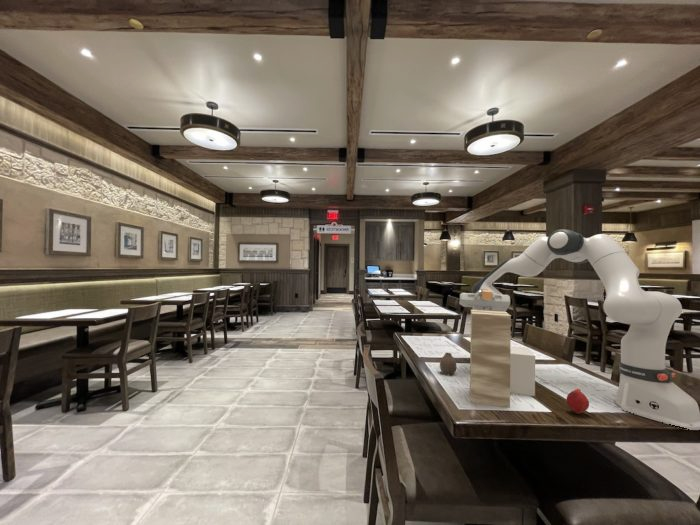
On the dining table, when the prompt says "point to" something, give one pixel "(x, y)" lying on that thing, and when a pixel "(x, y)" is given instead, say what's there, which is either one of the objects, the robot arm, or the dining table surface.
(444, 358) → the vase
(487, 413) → the dining table surface
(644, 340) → the robot arm
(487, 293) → the orange bar
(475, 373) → the tall stand
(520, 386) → the white box
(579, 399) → the onion
